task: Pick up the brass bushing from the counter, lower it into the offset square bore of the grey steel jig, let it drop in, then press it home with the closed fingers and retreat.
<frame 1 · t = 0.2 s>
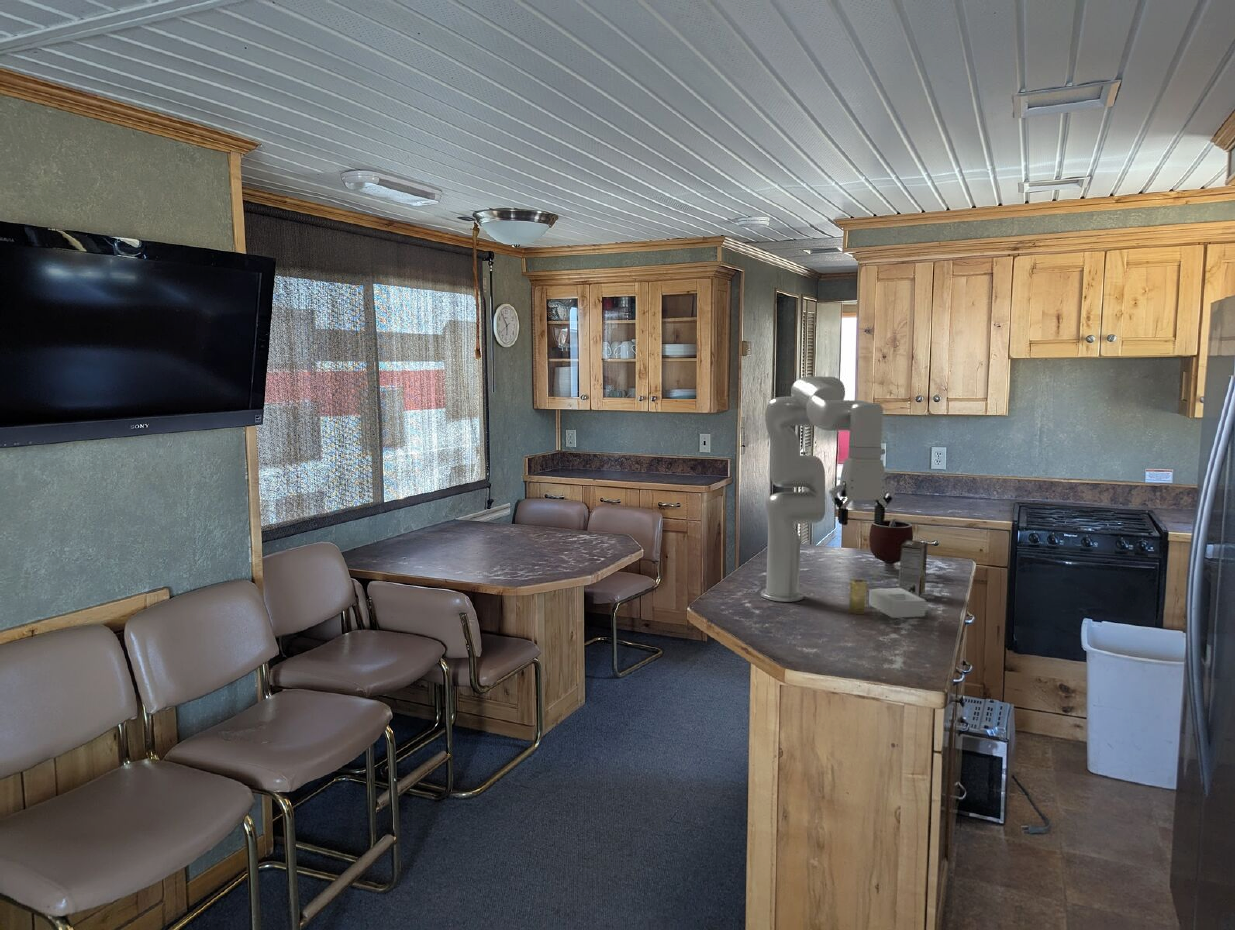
hand: (860, 523, 203), 31 cm above the counter, fingers open, 9 cm apart
coffee box: (911, 596, 253), on the counter
mate gourd: (889, 574, 279), on the counter
bushing: (856, 611, 235), on the counter
jig: (896, 610, 237), on the counter
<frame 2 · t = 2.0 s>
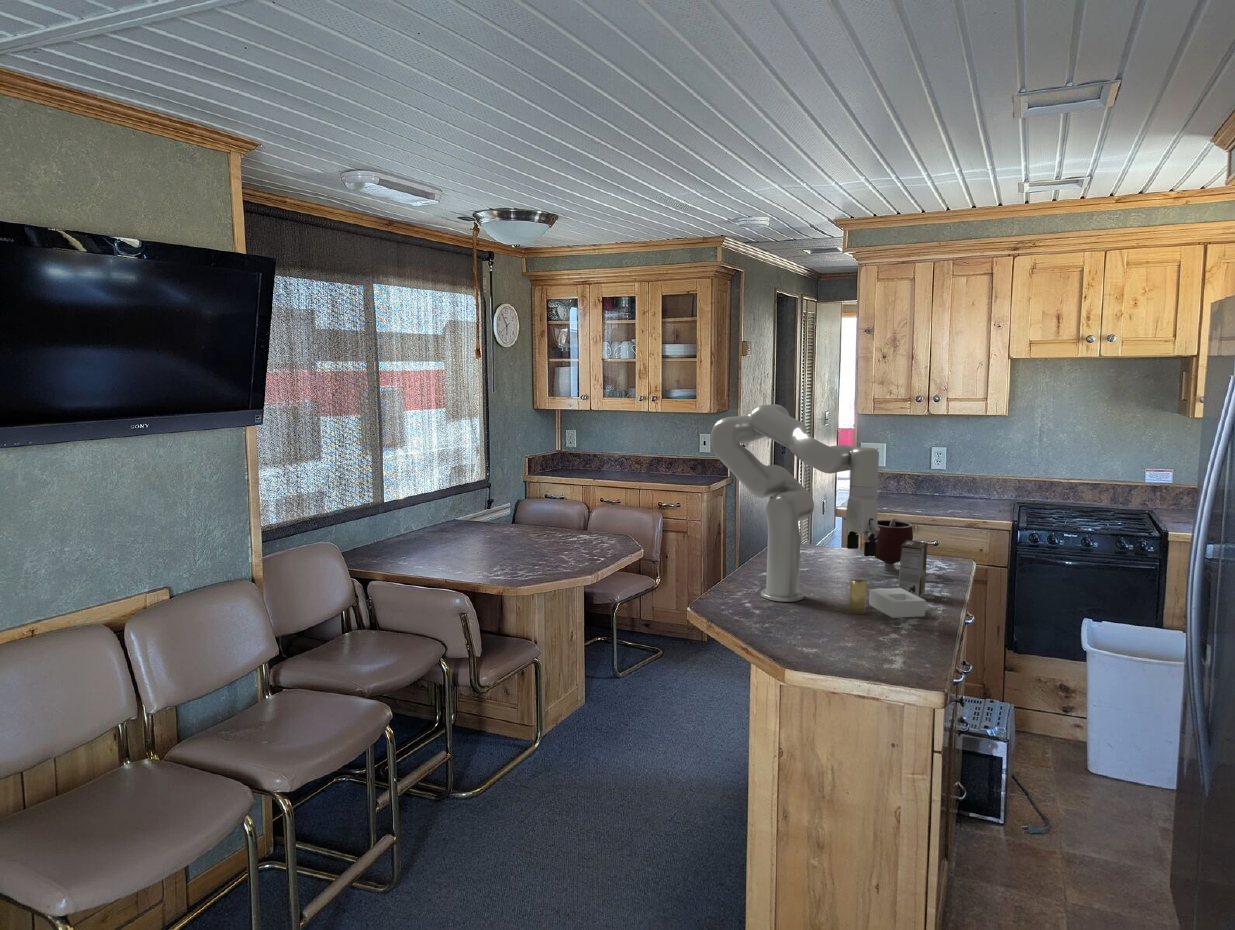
hand: (860, 552, 233), 17 cm above the counter, fingers open, 9 cm apart
nothing on the counter moved.
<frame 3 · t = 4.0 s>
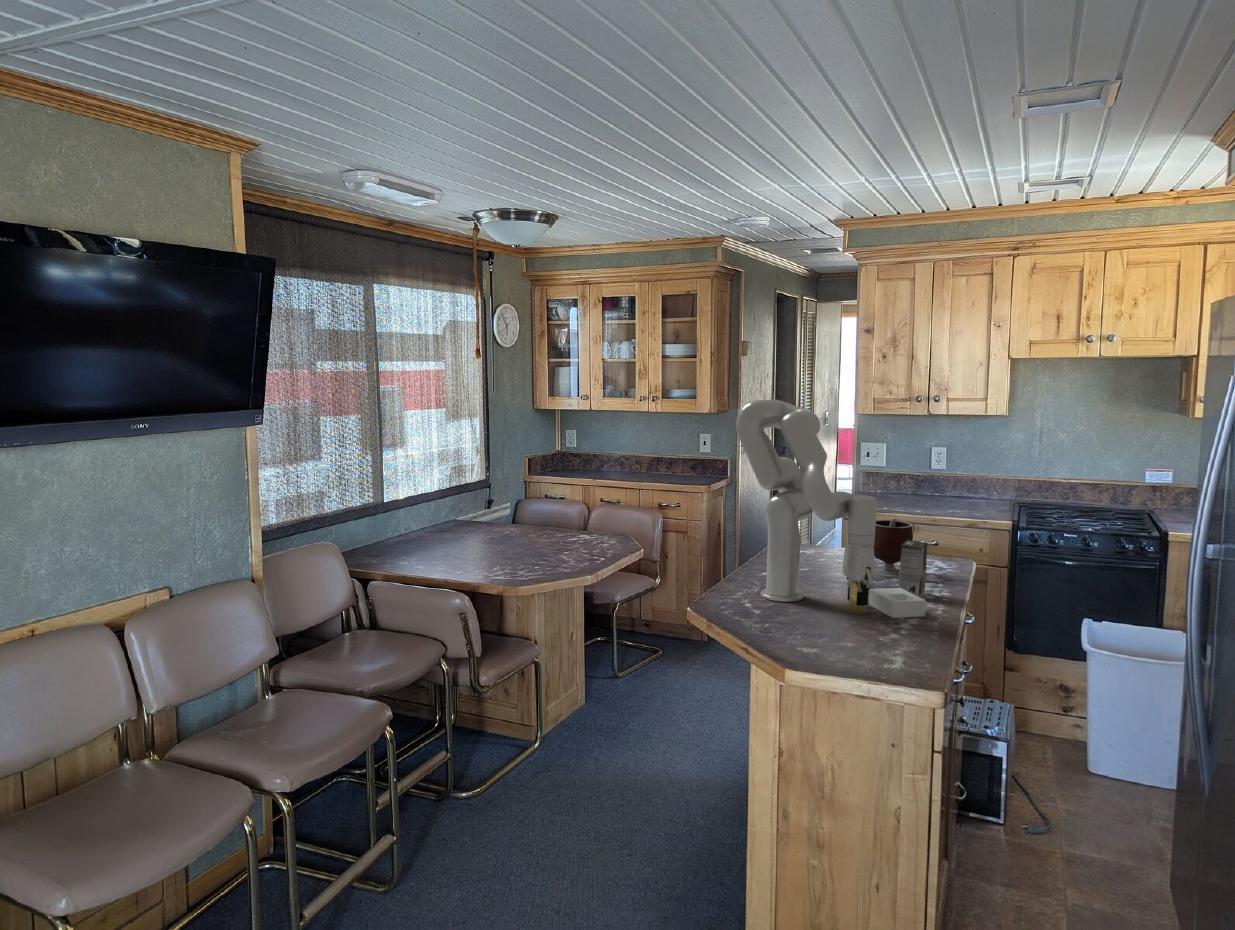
hand: (857, 602, 235), 3 cm above the counter, fingers closed on bushing, 4 cm apart
bushing: (857, 611, 235), on the counter, touching gripper
everything else where it was.
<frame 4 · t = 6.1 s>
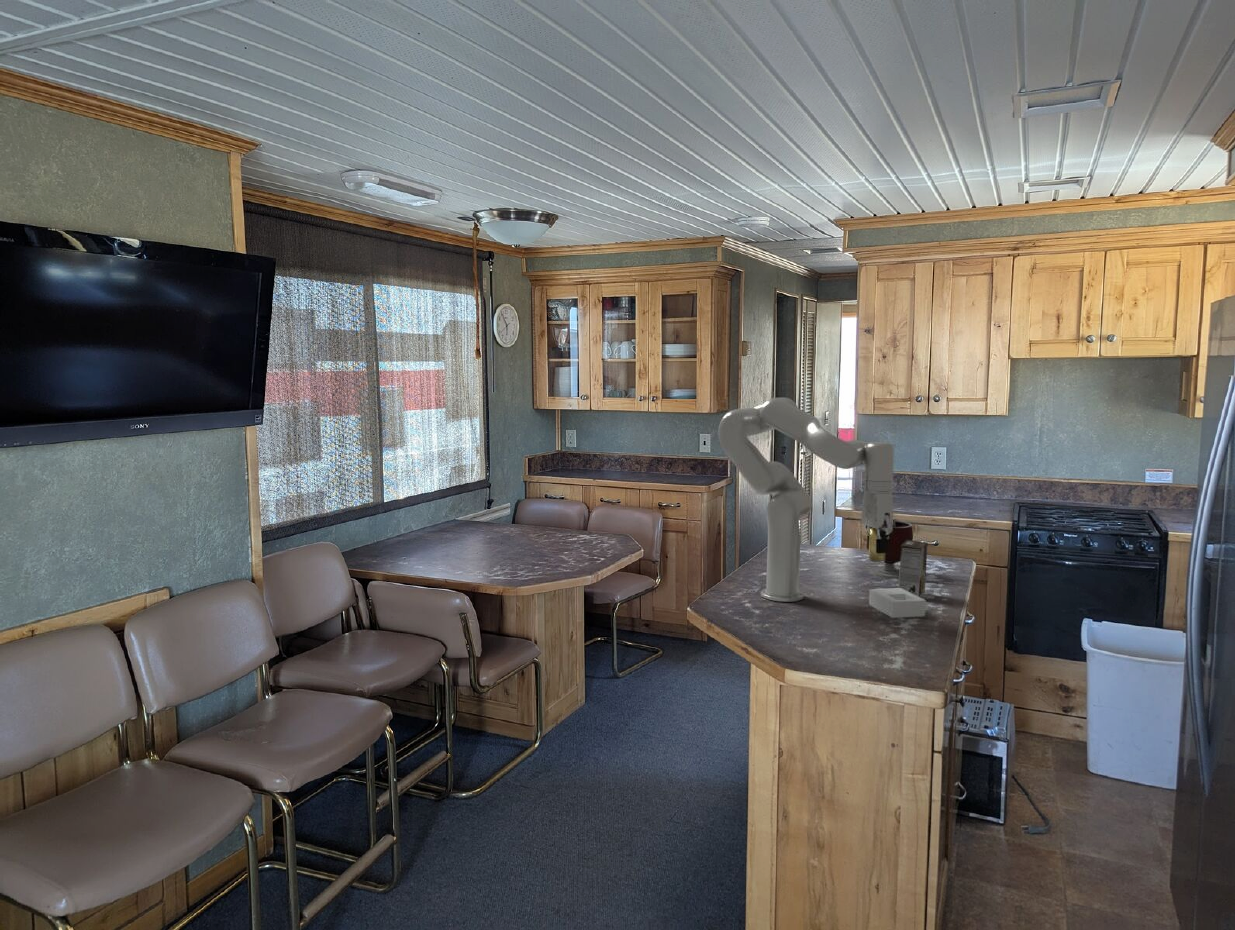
hand: (877, 550, 233), 18 cm above the counter, fingers closed on bushing, 4 cm apart
bushing: (876, 560, 233), point 15 cm above the counter, touching gripper
everything else where it was.
when the fingers open (6 cm above the counter, at t = 8.4 s): bushing drops 2 cm, resting on jig.
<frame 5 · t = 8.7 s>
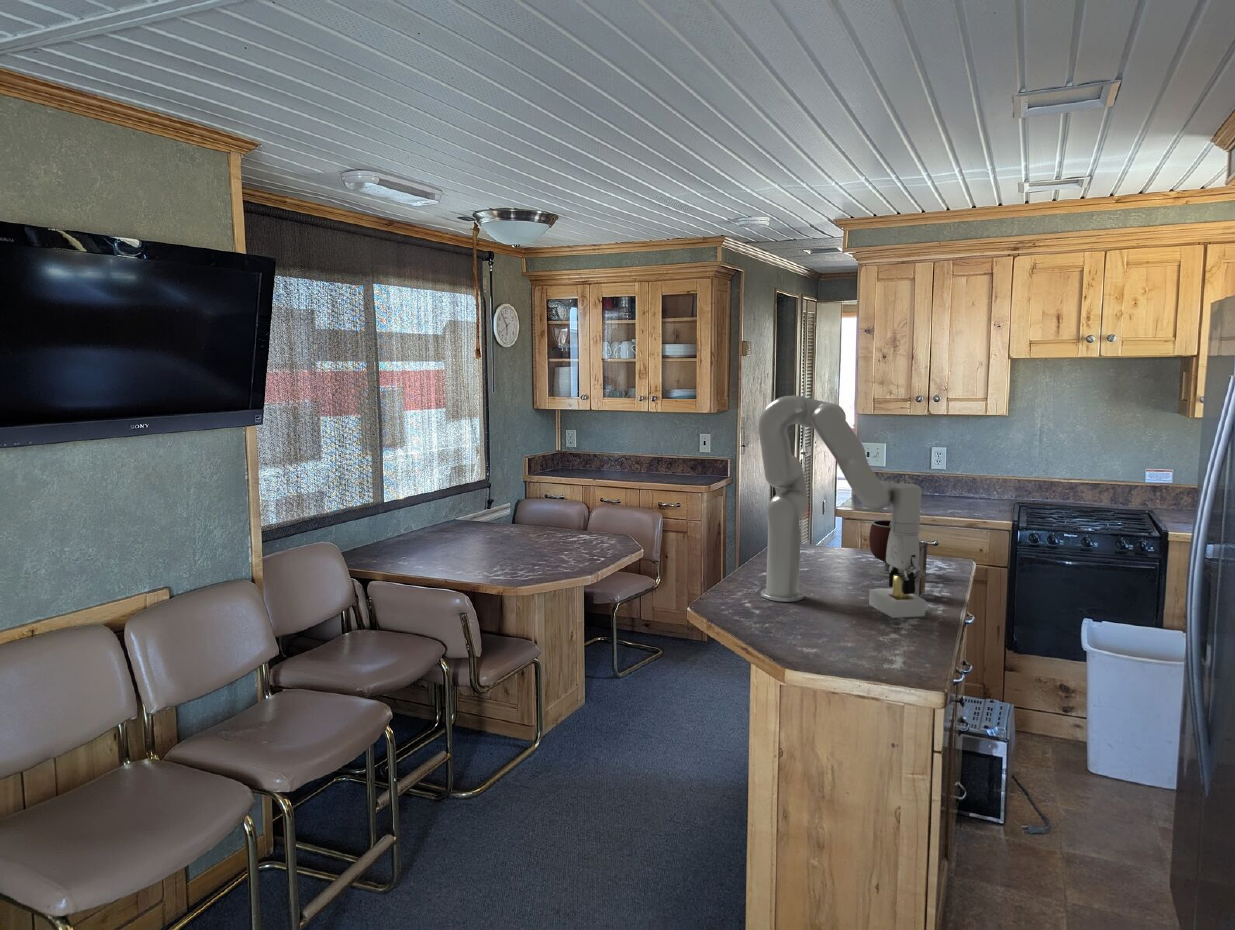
hand: (901, 589, 234), 7 cm above the counter, fingers open, 6 cm apart
bushing: (900, 606, 235), point 2 cm above the counter, touching jig
everything else where it was.
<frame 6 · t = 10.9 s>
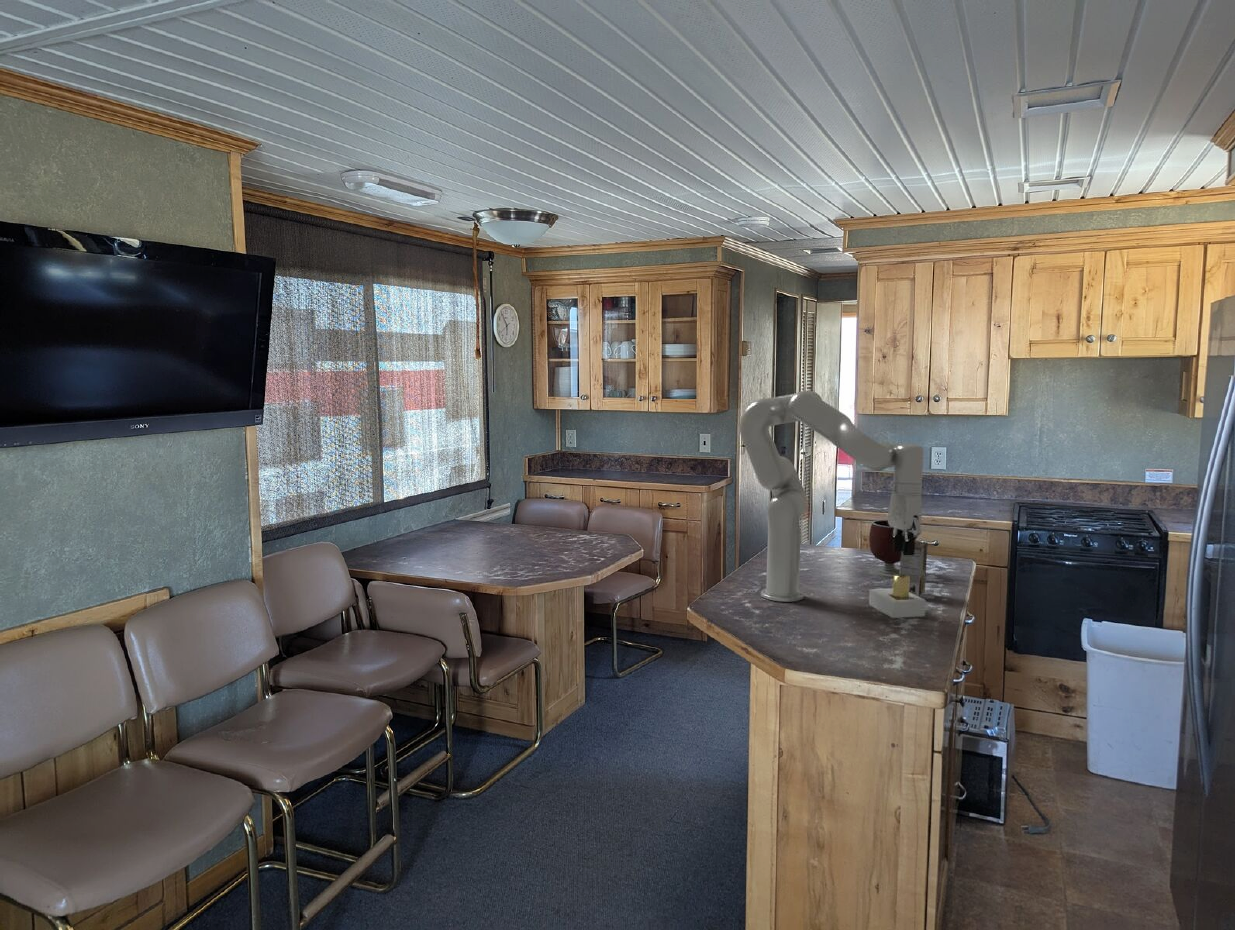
hand: (903, 552, 233), 17 cm above the counter, fingers open, 4 cm apart
nothing on the counter moved.
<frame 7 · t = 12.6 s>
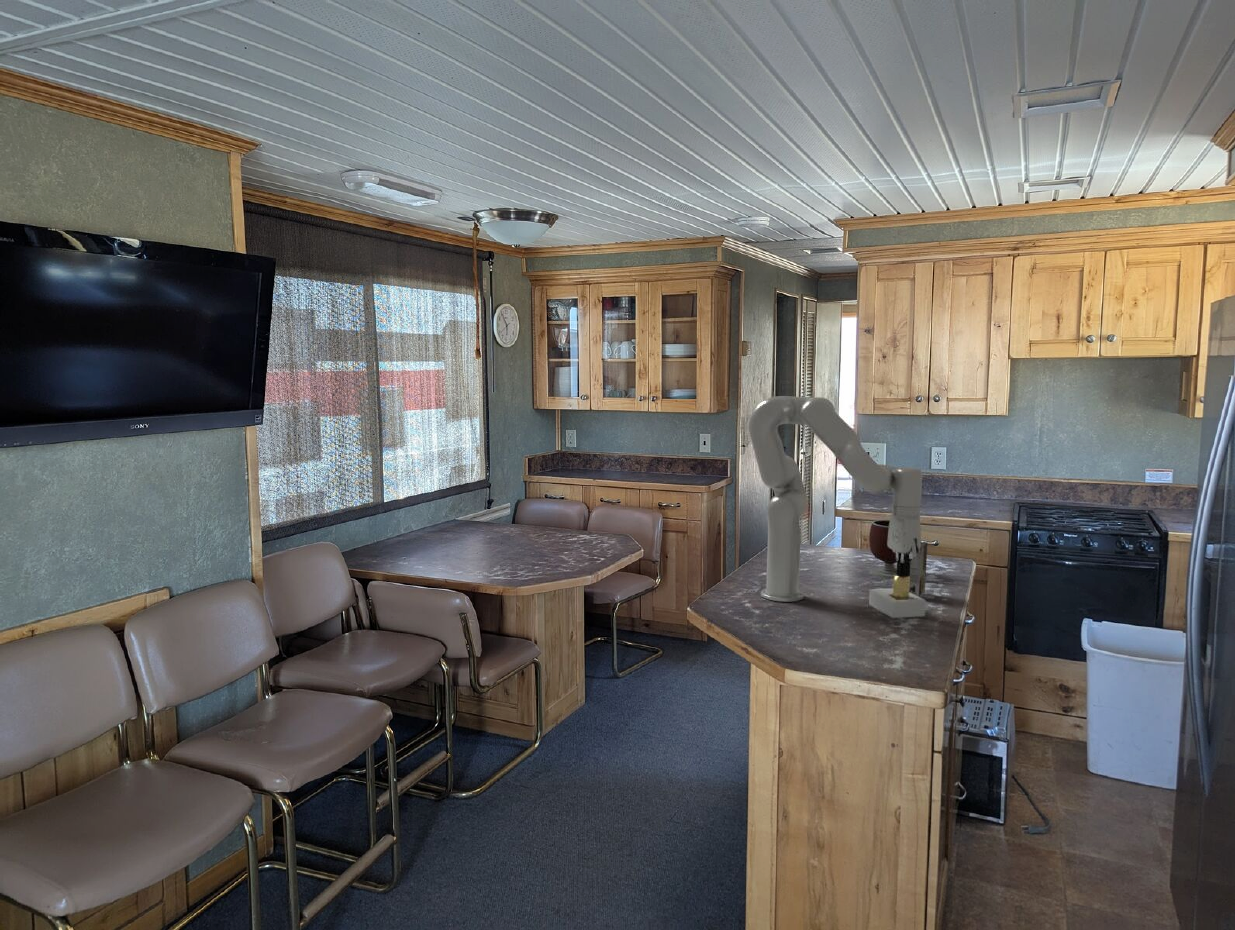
hand: (903, 575, 234), 11 cm above the counter, fingers closed
bushing: (900, 606, 235), point 2 cm above the counter, touching gripper, jig
everything else where it was.
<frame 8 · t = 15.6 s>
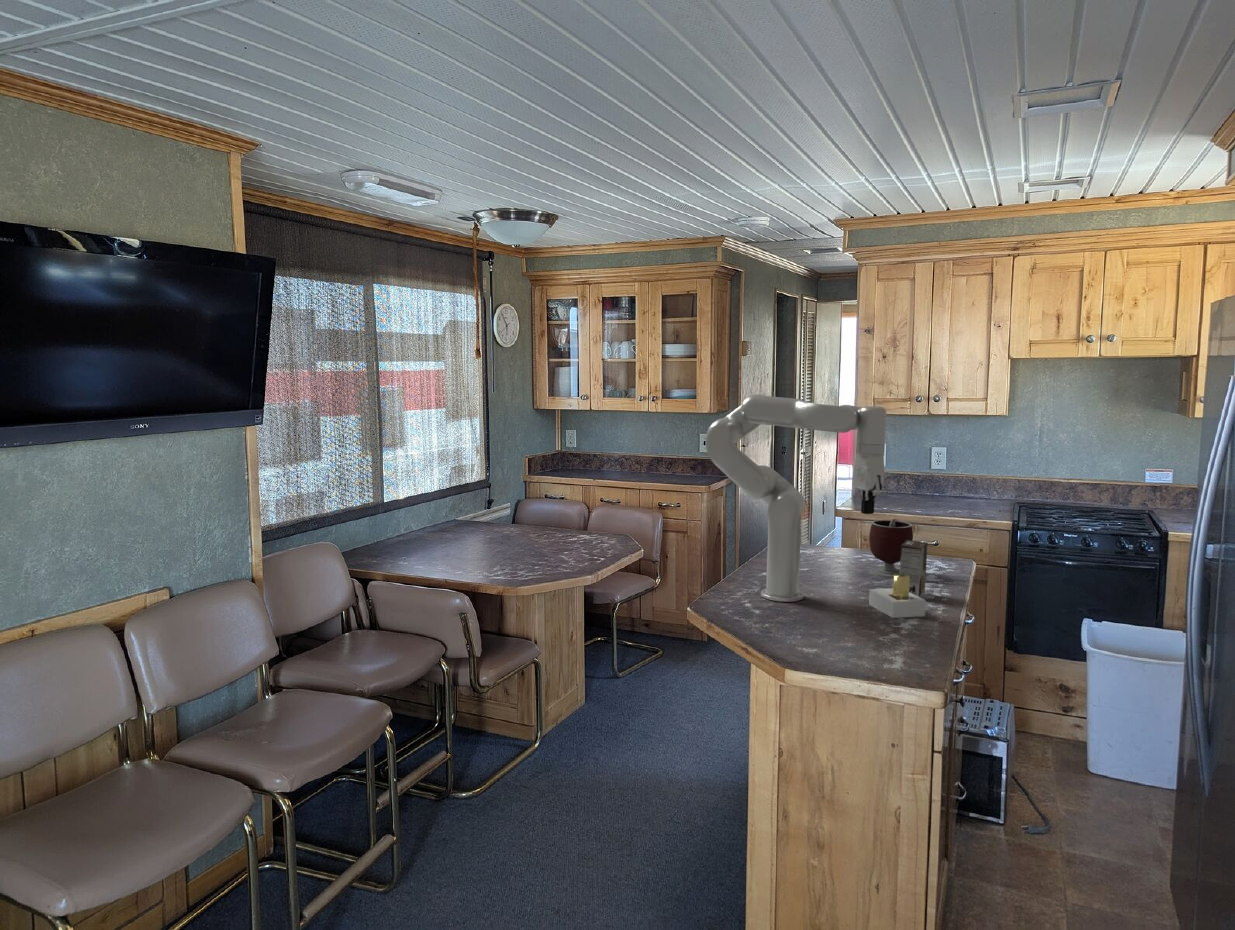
hand: (867, 513, 239), 27 cm above the counter, fingers closed
bushing: (900, 606, 235), point 2 cm above the counter, touching jig
everything else where it was.
at the end: bushing 0.1 cm from the target spot on the jig, point 1.5 cm above the jig's base; bushing tilted 1°; the gripper is holding nothing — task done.
